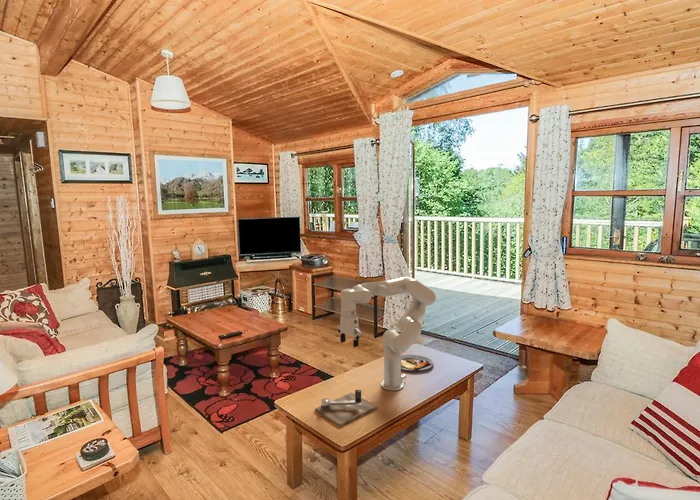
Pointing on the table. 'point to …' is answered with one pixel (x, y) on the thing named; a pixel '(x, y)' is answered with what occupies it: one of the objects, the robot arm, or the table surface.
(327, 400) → the lever
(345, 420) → the cracker board
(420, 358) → the food plate
